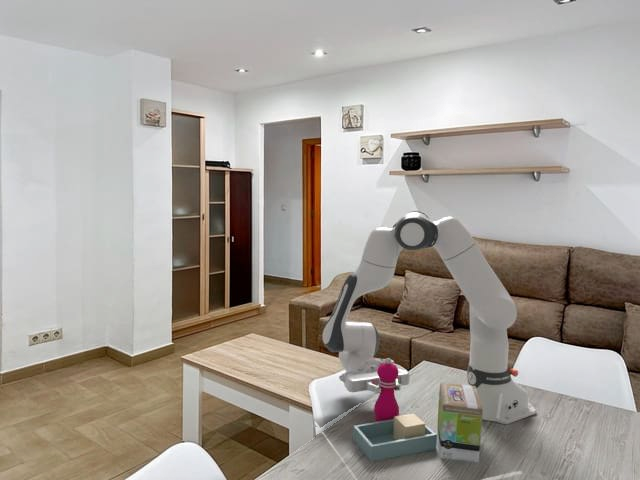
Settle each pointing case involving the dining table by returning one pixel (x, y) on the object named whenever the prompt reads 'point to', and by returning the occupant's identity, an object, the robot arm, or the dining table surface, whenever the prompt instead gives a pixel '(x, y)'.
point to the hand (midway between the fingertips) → (388, 389)
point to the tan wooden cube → (408, 426)
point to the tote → (390, 441)
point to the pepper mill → (386, 392)
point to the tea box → (459, 422)
